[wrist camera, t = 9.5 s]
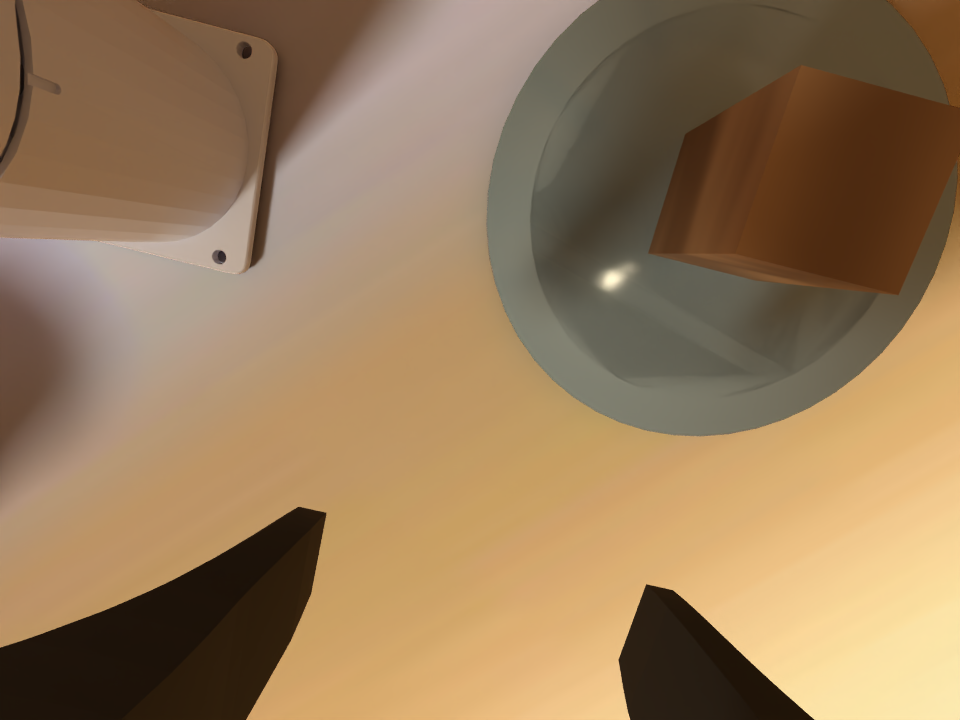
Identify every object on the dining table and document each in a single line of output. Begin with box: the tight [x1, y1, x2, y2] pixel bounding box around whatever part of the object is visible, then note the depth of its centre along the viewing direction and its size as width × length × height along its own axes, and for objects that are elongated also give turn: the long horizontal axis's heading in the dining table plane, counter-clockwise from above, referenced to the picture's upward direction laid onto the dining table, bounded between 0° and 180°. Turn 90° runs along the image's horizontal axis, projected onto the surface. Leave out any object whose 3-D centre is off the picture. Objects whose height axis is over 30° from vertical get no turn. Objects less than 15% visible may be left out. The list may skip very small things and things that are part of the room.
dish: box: [487, 0, 957, 436], centre depth 17 cm, size 16×16×1 cm
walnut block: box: [648, 65, 960, 295], centre depth 14 cm, size 4×4×6 cm
